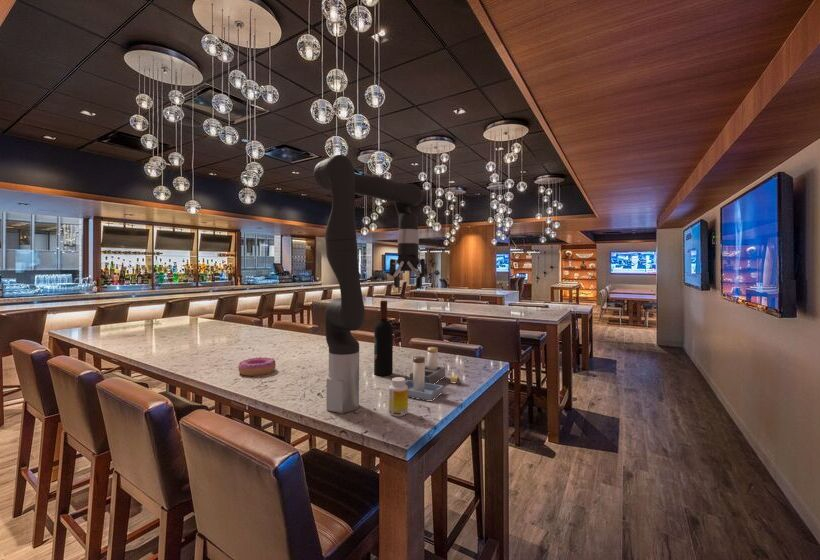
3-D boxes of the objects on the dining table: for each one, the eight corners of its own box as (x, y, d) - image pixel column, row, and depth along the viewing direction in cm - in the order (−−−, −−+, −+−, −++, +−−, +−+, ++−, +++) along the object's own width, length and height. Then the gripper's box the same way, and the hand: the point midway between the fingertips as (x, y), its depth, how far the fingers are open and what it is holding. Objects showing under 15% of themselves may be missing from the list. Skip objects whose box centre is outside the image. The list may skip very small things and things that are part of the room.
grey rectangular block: (429, 387, 131) (429, 376, 131) (409, 384, 134) (409, 373, 134) (445, 377, 144) (445, 367, 144) (427, 374, 148) (427, 365, 148)
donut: (252, 379, 140) (252, 366, 140) (230, 373, 147) (230, 361, 147) (283, 371, 152) (283, 359, 152) (261, 366, 160) (261, 354, 160)
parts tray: (443, 392, 125) (443, 385, 125) (431, 401, 117) (431, 394, 116) (407, 386, 132) (407, 379, 132) (393, 394, 123) (393, 387, 123)
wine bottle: (384, 377, 143) (384, 302, 142) (370, 374, 147) (370, 301, 147) (396, 373, 149) (396, 300, 148) (382, 370, 153) (383, 300, 153)
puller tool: (457, 383, 136) (457, 380, 136) (450, 383, 136) (450, 379, 136) (457, 377, 144) (457, 374, 144) (451, 377, 144) (451, 373, 144)
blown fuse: (421, 395, 122) (421, 359, 121) (410, 393, 123) (411, 358, 123) (426, 391, 125) (426, 357, 125) (416, 389, 127) (416, 355, 127)
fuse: (434, 380, 140) (435, 349, 140) (425, 378, 142) (425, 348, 142) (439, 377, 143) (439, 347, 143) (429, 376, 145) (430, 346, 145)
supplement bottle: (411, 413, 107) (411, 379, 107) (398, 418, 103) (398, 383, 103) (398, 408, 111) (398, 375, 110) (384, 413, 107) (385, 379, 106)
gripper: (385, 242, 129) (385, 287, 130) (421, 241, 123) (421, 289, 123) (396, 244, 136) (395, 287, 136) (430, 242, 129) (430, 288, 130)
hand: (407, 288), depth 130 cm, fingers open, 8 cm apart
